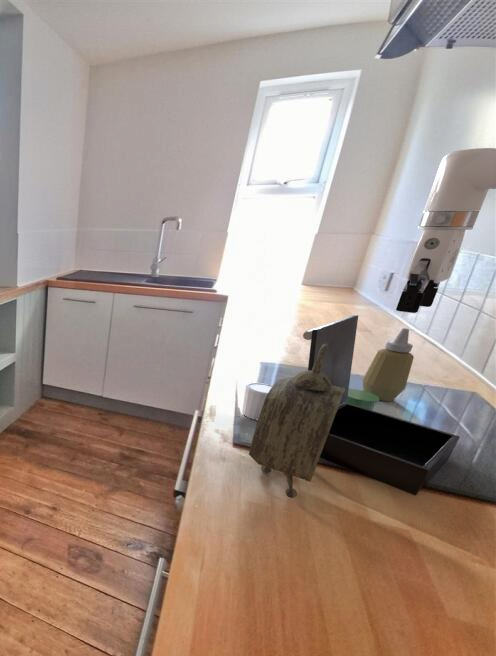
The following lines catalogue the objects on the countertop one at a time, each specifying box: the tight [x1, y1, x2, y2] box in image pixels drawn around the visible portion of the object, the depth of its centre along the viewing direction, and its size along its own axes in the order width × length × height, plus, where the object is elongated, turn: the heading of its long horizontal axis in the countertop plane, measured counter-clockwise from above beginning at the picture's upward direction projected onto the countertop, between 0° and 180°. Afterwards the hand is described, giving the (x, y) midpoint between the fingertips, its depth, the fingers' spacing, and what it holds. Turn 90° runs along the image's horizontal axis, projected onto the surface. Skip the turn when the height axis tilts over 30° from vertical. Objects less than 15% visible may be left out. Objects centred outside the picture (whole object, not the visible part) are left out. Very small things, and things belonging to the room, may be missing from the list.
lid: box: [302, 314, 359, 405], centre depth 84 cm, size 18×20×5 cm
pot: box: [343, 388, 380, 411], centre depth 97 cm, size 7×7×5 cm
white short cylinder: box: [241, 382, 273, 420], centre depth 95 cm, size 7×7×7 cm
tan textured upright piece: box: [248, 344, 345, 499], centre depth 70 cm, size 14×9×25 cm, turn 136°
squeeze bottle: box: [362, 327, 415, 402], centre depth 102 cm, size 8×8×18 cm
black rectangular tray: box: [319, 402, 461, 496], centre depth 79 cm, size 18×20×6 cm
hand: (413, 308), depth 87 cm, fingers open, 9 cm apart
